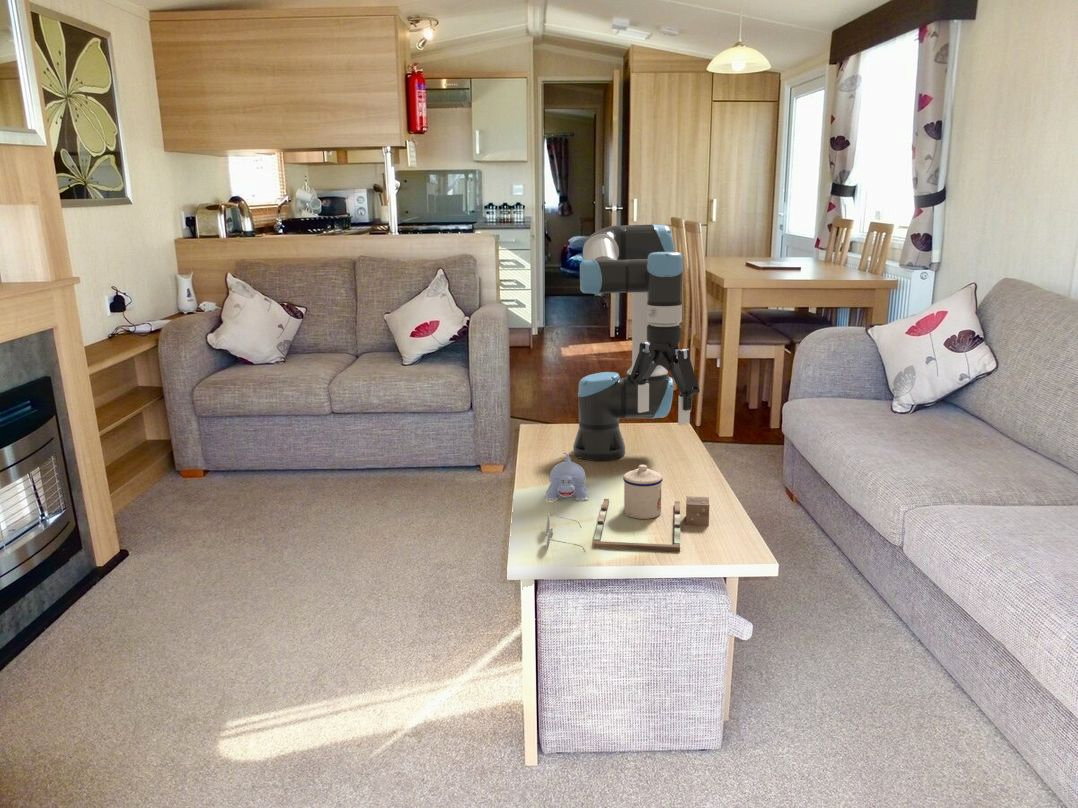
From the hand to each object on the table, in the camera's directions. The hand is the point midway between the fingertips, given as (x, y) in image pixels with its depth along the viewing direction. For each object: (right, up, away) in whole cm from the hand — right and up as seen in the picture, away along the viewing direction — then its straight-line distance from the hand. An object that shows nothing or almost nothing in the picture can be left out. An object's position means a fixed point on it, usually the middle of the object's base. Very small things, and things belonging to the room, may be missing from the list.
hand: (662, 417), depth 179 cm
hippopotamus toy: (-21, -21, +19) cm, 35 cm away
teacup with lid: (-4, -22, +10) cm, 25 cm away
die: (+8, -24, +3) cm, 25 cm away
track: (-5, -24, +2) cm, 25 cm away
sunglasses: (-22, -27, -5) cm, 35 cm away
